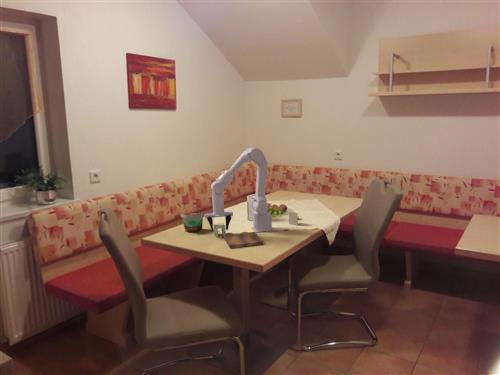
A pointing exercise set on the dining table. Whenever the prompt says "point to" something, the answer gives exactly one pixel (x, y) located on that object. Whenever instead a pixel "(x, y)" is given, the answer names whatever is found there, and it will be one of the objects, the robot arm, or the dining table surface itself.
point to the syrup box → (250, 207)
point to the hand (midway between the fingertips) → (219, 230)
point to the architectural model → (294, 218)
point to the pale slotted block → (217, 226)
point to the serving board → (243, 240)
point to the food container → (193, 222)
